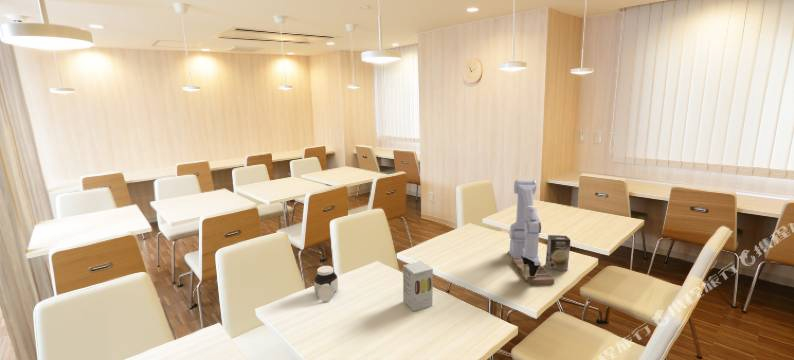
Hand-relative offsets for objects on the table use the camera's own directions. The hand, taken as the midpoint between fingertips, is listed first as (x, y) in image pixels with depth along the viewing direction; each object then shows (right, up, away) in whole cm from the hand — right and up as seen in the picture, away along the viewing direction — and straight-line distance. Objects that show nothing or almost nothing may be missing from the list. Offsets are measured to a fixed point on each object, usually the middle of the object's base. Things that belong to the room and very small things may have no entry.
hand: (529, 273), depth 177 cm
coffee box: (+18, -1, +13) cm, 22 cm away
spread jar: (-93, -8, -9) cm, 94 cm away
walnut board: (+3, -2, +8) cm, 9 cm away
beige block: (+1, -2, +1) cm, 3 cm away
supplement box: (-53, -9, -17) cm, 57 cm away
